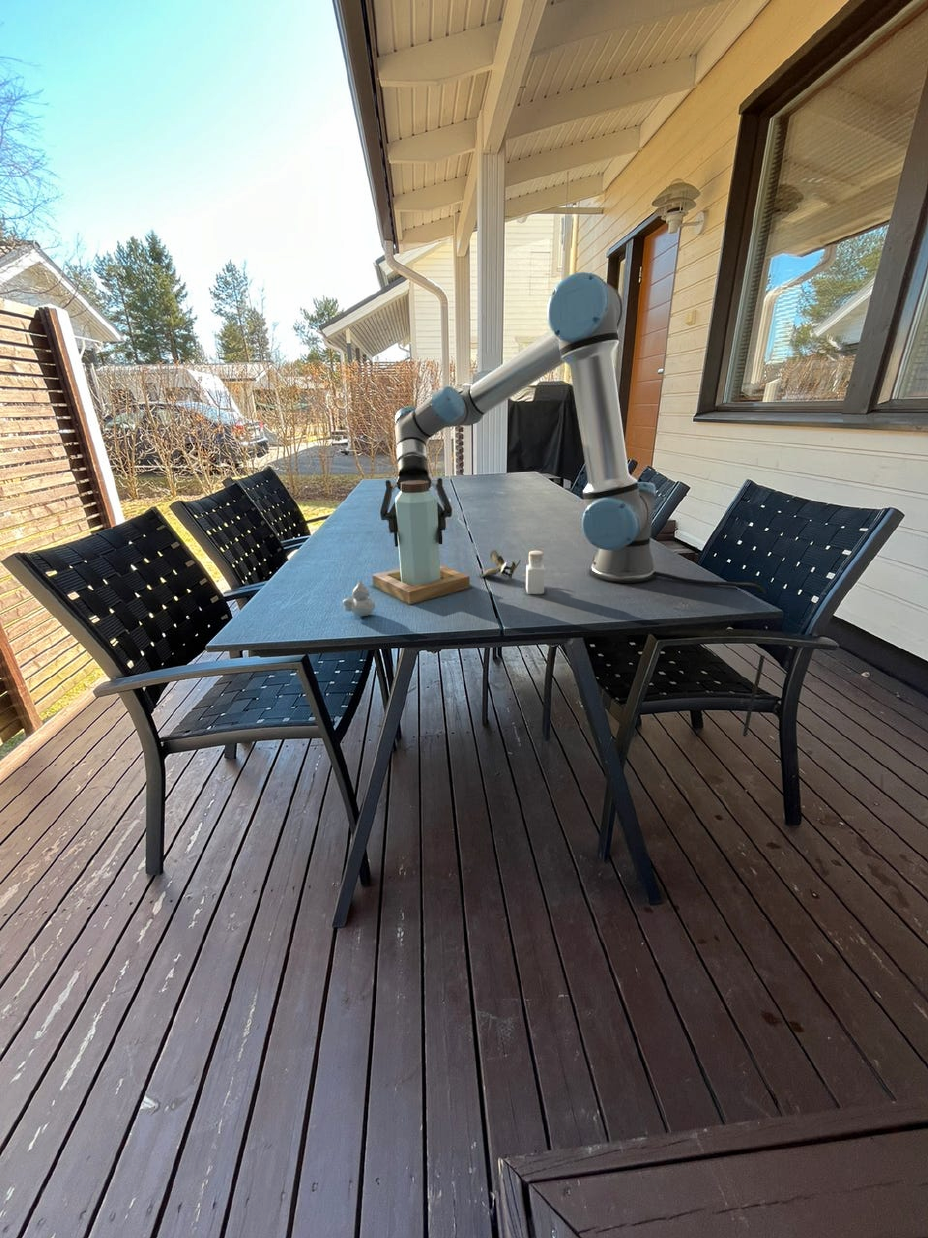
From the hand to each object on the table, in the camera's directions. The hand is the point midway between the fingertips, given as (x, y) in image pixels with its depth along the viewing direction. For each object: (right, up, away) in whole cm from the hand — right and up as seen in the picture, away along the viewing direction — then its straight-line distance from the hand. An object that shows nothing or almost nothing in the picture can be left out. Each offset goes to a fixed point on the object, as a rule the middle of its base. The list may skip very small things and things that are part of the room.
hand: (418, 542), depth 121 cm
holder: (0, -10, +7) cm, 12 cm away
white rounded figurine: (-12, -17, -9) cm, 22 cm away
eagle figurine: (+19, -7, +13) cm, 24 cm away
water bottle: (0, -10, +7) cm, 12 cm away
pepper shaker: (+27, -12, +2) cm, 29 cm away
